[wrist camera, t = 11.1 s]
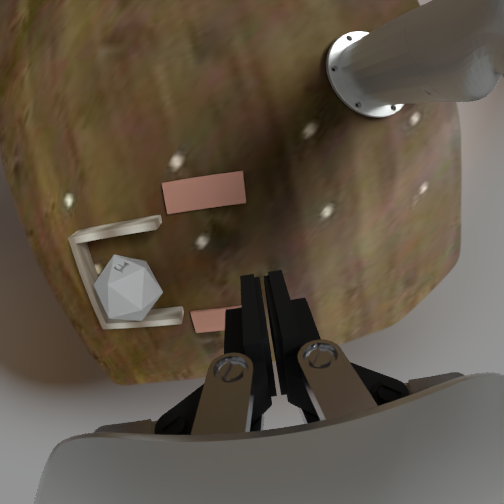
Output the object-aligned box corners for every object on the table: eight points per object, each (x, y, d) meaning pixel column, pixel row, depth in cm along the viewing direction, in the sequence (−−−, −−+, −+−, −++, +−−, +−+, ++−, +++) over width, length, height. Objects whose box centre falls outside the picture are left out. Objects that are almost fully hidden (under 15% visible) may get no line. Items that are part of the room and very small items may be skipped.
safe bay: (160, 214, 34) (155, 221, 31) (184, 311, 40) (181, 323, 38) (77, 230, 34) (68, 237, 31) (108, 317, 40) (102, 329, 37)
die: (177, 273, 38) (147, 261, 29) (157, 330, 37) (123, 333, 28) (132, 255, 40) (96, 239, 30) (114, 307, 38) (74, 304, 29)
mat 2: (257, 302, 41) (257, 304, 40) (259, 323, 42) (260, 325, 42) (190, 311, 40) (190, 312, 40) (196, 331, 42) (196, 333, 42)
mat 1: (242, 170, 33) (242, 171, 33) (246, 202, 35) (246, 203, 34) (162, 182, 33) (161, 183, 32) (168, 213, 34) (167, 214, 34)
